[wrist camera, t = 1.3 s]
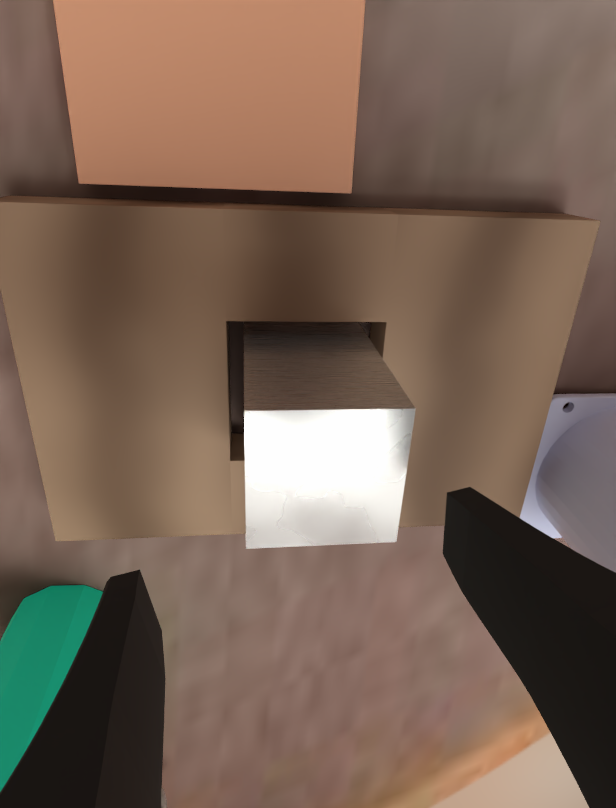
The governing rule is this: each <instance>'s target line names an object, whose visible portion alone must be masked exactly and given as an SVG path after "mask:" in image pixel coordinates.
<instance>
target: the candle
mask: <svg viewBox="0 0 616 808" xmlns="http://www.w3.org/2000/svg"><path fill="white" fill-rule="evenodd" d="M102 594H103V592H102V591H100V590H97V589H94V588H91V587H89V586H86V585H62V586H49V587H47V588H45V589H43V590H41V591H38V592H36V593H34V594H32V595H30V596H28V597H25V598H24V599H23V600H22V602H21V604H20V605H19V607H18V609H17V610H16V612H15V613H14V615H13V617H12V618H11V620H10V622H9V624H8V626H7V628H6V630H5V632H4V634H3V636H2V638H1V640H0V792H1V790H2V789H3V787H4V785H5V784H6V782H7V781H8V779H9V777H10V776H11V774H12V773H13V771H14V769H15V768H16V766H17V764H18V763H19V761H20V759H21V758H22V756H23V754H24V753H25V751H26V749H27V748H28V746H29V744H30V743H31V741H32V739H33V737H34V736H35V734H36V732H37V730H38V729H39V727H40V725H41V723H42V721H43V719H44V717H45V716H46V714H47V712H48V710H49V708H50V706H51V704H52V702H53V700H54V699H55V697H56V695H57V693H58V691H59V689H60V687H61V685H62V683H63V681H64V679H65V677H66V675H67V673H68V671H69V669H70V667H71V665H72V663H73V660H74V658H75V656H76V654H77V652H78V650H79V648H80V646H81V643H82V641H83V639H84V637H85V635H86V632H87V630H88V628H89V625H90V623H91V621H92V618H93V616H94V614H95V611H96V609H97V606H98V604H99V601H100V599H101V596H102Z"/></svg>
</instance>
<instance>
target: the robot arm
mask: <svg viewBox="0 0 616 808" xmlns="http://www.w3.org/2000/svg"><path fill="white" fill-rule="evenodd" d="M568 402H569V405H568V406H567V407H566V408H564V409H563V406H564V405H565V404H566V403H568ZM553 538H563V539H564V540H565V541H566V542H567V544H568V545H569V546H570V547H571V549H570V548H569V547H567V546H565V545H563V544H562V543H560V542H558V541H556V540H555V539H553ZM443 555H444V557H445V559H446V561H447V563H448V565H449V567H450V569H451V571H452V573H453V575H454V577H455V579H456V581H457V583H458V585H459V587H460V589H461V591H462V592H463V594H464V596H465V597H466V599H467V600H468V602H469V603H470V605H471V606H472V608H473V609H474V611H475V612H476V614H477V615H478V617H479V618H480V620H481V621H482V623H483V624H484V626H485V627H486V629H487V630H488V632H489V633H490V635H491V636H492V638H493V639H494V641H495V642H496V643H497V645H498V646H499V648H500V649H501V651H502V652H503V654H504V655H505V657H506V658H507V660H508V661H509V663H510V664H511V666H512V667H513V669H514V670H515V672H516V673H517V675H518V676H519V678H520V679H521V681H522V683H523V684H524V686H525V687H526V689H527V691H528V692H529V694H530V696H531V697H532V699H533V701H534V703H535V705H536V706H537V708H538V710H539V712H540V714H541V716H542V717H543V719H544V721H545V723H546V725H547V727H548V728H549V730H550V732H551V734H552V736H553V737H554V739H555V741H556V743H557V745H558V747H559V749H560V751H561V753H562V755H563V757H564V758H565V760H566V762H567V764H568V766H569V768H570V770H571V772H572V774H573V776H574V778H575V779H576V781H577V783H578V785H579V788H580V790H581V792H582V794H583V796H584V798H585V800H586V802H587V804H588V806H589V808H616V393H608V394H554V395H553V397H552V401H551V404H550V408H549V412H548V415H547V419H546V423H545V426H544V430H543V434H542V437H541V441H540V445H539V448H538V452H537V456H536V459H535V463H534V467H533V470H532V474H531V478H530V481H529V485H528V489H527V492H526V496H525V500H524V503H523V507H522V511H521V514H520V518H519V517H517V516H516V515H514V514H512V513H511V512H509V511H508V510H506V509H505V508H503V507H501V506H500V505H498V504H497V503H495V502H494V501H492V500H490V499H489V498H487V497H486V496H484V495H483V494H481V493H479V492H478V491H476V490H475V489H473V488H471V487H467V488H463V489H459V490H455V491H451V492H447V496H446V512H445V528H444V544H443ZM164 703H165V667H164V653H163V641H162V630H161V628H160V625H159V622H158V619H157V616H156V614H155V611H154V608H153V605H152V602H151V600H150V597H149V594H148V591H147V589H146V586H145V583H144V580H143V577H142V575H141V572H140V570H137V571H133V572H129V573H125V574H121V575H117V576H113V577H110V579H109V580H108V581H107V583H106V585H105V588H104V591H103V594H102V596H101V599H100V601H99V604H98V606H97V609H96V611H95V614H94V616H93V618H92V621H91V623H90V625H89V628H88V630H87V632H86V635H85V637H84V639H83V641H82V643H81V646H80V648H79V650H78V652H77V654H76V656H75V658H74V660H73V663H72V665H71V667H70V669H69V671H68V673H67V675H66V677H65V679H64V681H63V683H62V685H61V687H60V689H59V691H58V693H57V695H56V697H55V699H54V700H53V702H52V704H51V706H50V708H49V710H48V712H47V714H46V716H45V717H44V719H43V721H42V723H41V725H40V727H39V729H38V730H37V732H36V734H35V736H34V737H33V739H32V741H31V743H30V744H29V746H28V748H27V749H26V751H25V753H24V754H23V756H22V758H21V759H20V761H19V763H18V764H17V766H16V768H15V769H14V771H13V773H12V774H11V776H10V777H9V779H8V781H7V782H6V784H5V785H4V787H3V789H2V790H1V792H0V808H161V787H162V759H163V732H164Z"/></svg>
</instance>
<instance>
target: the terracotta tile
mask: <svg viewBox="0 0 616 808" xmlns="http://www.w3.org/2000/svg"><path fill="white" fill-rule="evenodd" d="M53 4H54V11H55V18H56V25H57V32H58V39H59V46H60V53H61V60H62V68H63V75H64V82H65V89H66V96H67V103H68V110H69V117H70V124H71V131H72V139H73V146H74V153H75V160H76V167H77V174H78V181H79V184H103V185H131V186H159V187H187V188H215V189H243V190H271V191H299V192H326V193H351V192H352V178H353V164H354V150H355V136H356V122H357V109H358V95H359V81H360V67H361V53H362V39H363V25H364V11H365V0H53Z"/></svg>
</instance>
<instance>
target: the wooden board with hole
mask: <svg viewBox="0 0 616 808" xmlns="http://www.w3.org/2000/svg"><path fill="white" fill-rule="evenodd" d="M599 225H600V221H599V220H594V219H589V218H584V217H579V216H574V215H569V214H560V213H529V212H499V211H468V210H438V209H407V208H377V207H347V206H316V205H286V204H255V203H225V202H194V201H164V200H133V199H103V198H72V197H42V196H11V195H10V196H5V197H0V290H1V295H2V300H3V304H4V309H5V313H6V318H7V322H8V327H9V331H10V336H11V340H12V345H13V350H14V354H15V359H16V363H17V368H18V372H19V377H20V381H21V386H22V390H23V395H24V399H25V404H26V409H27V413H28V418H29V422H30V427H31V431H32V436H33V440H34V445H35V449H36V454H37V459H38V463H39V468H40V472H41V477H42V481H43V486H44V490H45V495H46V499H47V504H48V508H49V513H50V518H51V522H52V527H53V531H54V536H55V540H56V541H75V540H99V539H124V538H148V537H172V536H197V535H221V534H246V509H245V443H244V433H241V434H231V402H230V366H229V329H228V321H288V322H371V332H370V340H371V342H372V343H373V345H374V346H375V348H376V349H377V351H378V352H379V354H380V355H381V357H382V358H383V360H384V361H385V363H386V364H387V366H388V367H389V369H390V370H391V372H392V374H393V375H394V377H395V378H396V380H397V381H398V383H399V384H400V386H401V387H402V389H403V390H404V392H405V393H406V395H407V396H408V398H409V399H410V401H411V402H412V404H413V405H414V407H415V408H416V410H415V417H414V424H413V431H412V438H411V444H410V451H409V458H408V465H407V472H406V479H405V486H404V492H403V499H402V506H401V513H400V520H399V527H417V526H442V525H445V512H446V496H447V492H451V491H455V490H459V489H463V488H467V487H471V488H473V489H475V490H476V491H478V492H479V493H481V494H483V495H484V496H486V497H487V498H489V499H490V500H492V501H494V502H495V503H497V504H498V505H500V506H501V507H503V508H505V509H506V510H508V511H509V512H511V513H512V514H514V515H516V516H517V517H519V518H520V514H521V511H522V507H523V503H524V500H525V496H526V492H527V489H528V485H529V481H530V478H531V474H532V470H533V467H534V463H535V459H536V456H537V452H538V448H539V445H540V441H541V437H542V434H543V430H544V426H545V423H546V419H547V415H548V412H549V408H550V404H551V401H552V397H553V394H554V390H555V386H556V383H557V379H558V375H559V372H560V368H561V364H562V361H563V357H564V353H565V350H566V346H567V342H568V339H569V335H570V331H571V328H572V324H573V320H574V317H575V313H576V309H577V306H578V302H579V298H580V295H581V291H582V287H583V284H584V280H585V276H586V273H587V269H588V265H589V262H590V258H591V254H592V251H593V247H594V243H595V240H596V236H597V232H598V229H599Z"/></svg>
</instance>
